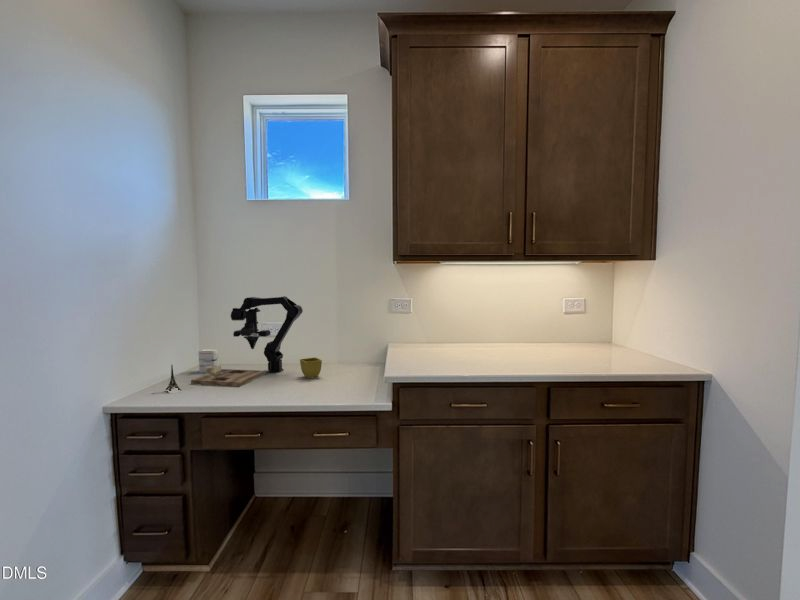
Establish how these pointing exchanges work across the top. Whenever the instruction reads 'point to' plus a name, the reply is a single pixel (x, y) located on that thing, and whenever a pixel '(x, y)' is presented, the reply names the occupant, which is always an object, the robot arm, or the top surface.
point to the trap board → (229, 378)
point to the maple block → (213, 370)
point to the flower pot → (311, 367)
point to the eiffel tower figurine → (172, 381)
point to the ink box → (207, 359)
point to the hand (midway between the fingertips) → (252, 349)
